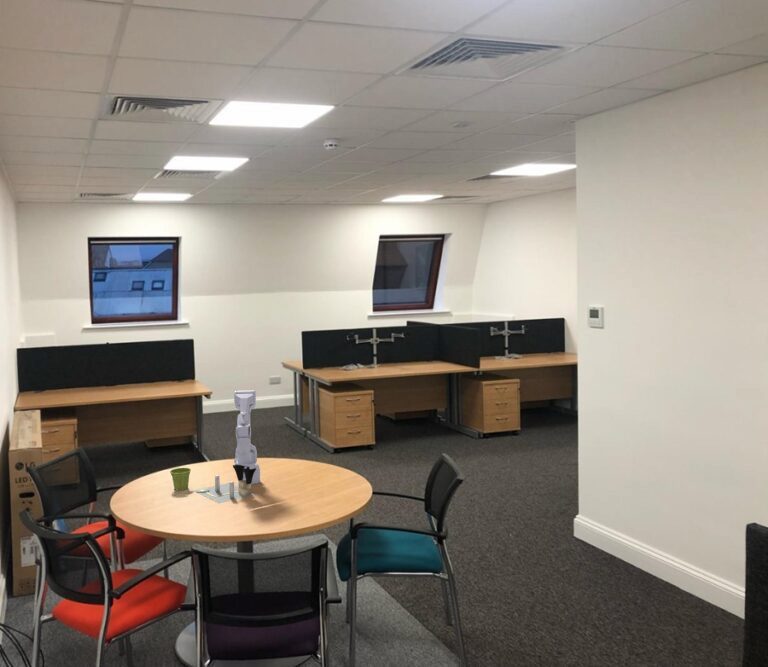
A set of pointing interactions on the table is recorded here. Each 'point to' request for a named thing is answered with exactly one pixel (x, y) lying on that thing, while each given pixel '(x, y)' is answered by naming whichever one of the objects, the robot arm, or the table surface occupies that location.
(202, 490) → the pad
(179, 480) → the plant pot
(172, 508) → the table surface
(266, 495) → the table surface
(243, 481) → the block
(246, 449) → the robot arm
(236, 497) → the board
